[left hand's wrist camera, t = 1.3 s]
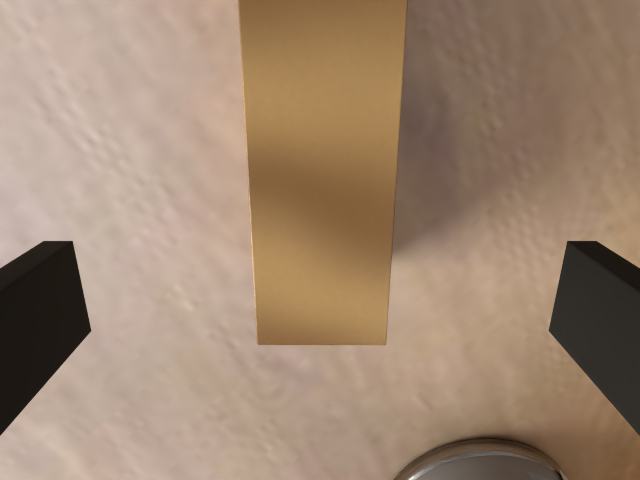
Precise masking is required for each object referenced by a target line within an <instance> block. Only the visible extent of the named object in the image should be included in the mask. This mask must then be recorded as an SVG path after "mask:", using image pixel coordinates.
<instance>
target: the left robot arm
mask: <svg viewBox="0 0 640 480" xmlns="http://www.w3.org/2000/svg"><path fill="white" fill-rule="evenodd" d="M90 332H91V327H90V322H89V318H88V313H87V308H86V303H85V298H84V294H83V289H82V284H81V279H80V274H79V270H78V265H77V260H76V255H75V250H74V246H73V241H43V242H41V243H40V244H38V245H37V246H35V247H34V248H32V249H30V250H29V251H27V252H26V253H24V254H22V255H21V256H19V257H18V258H16V259H14V260H13V261H11V262H10V263H8V264H7V265H5V266H3V267H2V268H0V435H1V434H2V433H3V432H4V431H5V430H6V428H7V427H8V426H9V425H10V424H11V423H12V422H13V420H14V419H15V418H16V417H17V416H18V415H19V413H20V412H21V411H22V410H23V409H24V408H25V407H26V405H27V404H28V403H29V402H30V401H31V400H32V399H33V397H34V396H35V395H36V394H37V393H38V392H39V390H40V389H41V388H42V387H43V386H44V385H45V384H46V382H47V381H48V380H49V379H50V378H51V377H52V375H53V374H54V373H55V372H56V371H57V370H58V369H59V367H60V366H61V365H62V364H63V363H64V362H65V360H66V359H67V358H68V357H69V356H70V355H71V354H72V352H73V351H74V350H75V349H76V348H77V347H78V346H79V344H80V343H81V342H82V341H83V340H84V339H85V337H86V336H87V335H88V334H89V333H90ZM549 332H550V333H551V334H552V335H553V336H554V337H555V339H556V340H557V341H558V342H559V343H560V344H561V346H562V347H563V348H564V349H565V350H566V351H567V352H568V354H569V355H570V356H571V357H572V358H573V359H574V360H575V362H576V363H577V364H578V365H579V366H580V367H581V369H582V370H583V371H584V372H585V373H586V374H587V375H588V377H589V378H590V379H591V380H592V381H593V382H594V384H595V385H596V386H597V387H598V388H599V389H600V390H601V392H602V393H603V394H604V395H605V396H606V397H607V399H608V400H609V401H610V402H611V403H612V404H613V405H614V407H615V408H616V409H617V410H618V411H619V412H620V413H621V415H622V416H623V417H624V418H625V419H626V420H627V422H628V423H629V424H630V425H631V426H632V427H633V428H634V430H635V431H636V432H637V433H638V434H639V435H640V268H638V267H637V266H635V265H633V264H632V263H630V262H629V261H627V260H626V259H624V258H622V257H621V256H619V255H618V254H616V253H614V252H613V251H611V250H610V249H608V248H606V247H605V246H603V245H602V244H600V243H599V242H597V241H567V246H566V250H565V255H564V260H563V265H562V270H561V274H560V279H559V284H558V289H557V294H556V298H555V303H554V308H553V313H552V318H551V322H550V327H549ZM394 480H568V479H567V477H566V476H565V474H564V472H563V471H562V470H561V468H560V467H559V466H558V465H557V464H556V463H555V462H554V461H553V460H552V459H551V458H549V457H548V456H547V455H545V454H544V453H542V452H540V451H538V450H536V449H534V448H532V447H530V446H527V445H524V444H521V443H517V442H513V441H508V440H500V439H474V440H466V441H461V442H456V443H452V444H449V445H445V446H442V447H440V448H437V449H435V450H432V451H430V452H428V453H426V454H424V455H422V456H421V457H419V458H417V459H416V460H414V461H413V462H411V463H410V464H409V465H408V466H406V467H405V468H404V469H403V470H402V471H401V472H400V473H399V474H398V475H397V476H396V477H395V478H394Z"/></svg>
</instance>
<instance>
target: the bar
mask: <svg viewBox="0 0 640 480" xmlns="http://www.w3.org/2000/svg"><path fill="white" fill-rule="evenodd" d="M407 5H408V0H238V6H239V24H240V42H241V60H242V79H243V97H244V115H245V133H246V151H247V170H248V188H249V206H250V224H251V242H252V260H253V279H254V297H255V315H256V333H257V345H386V337H387V321H388V305H389V289H390V274H391V258H392V242H393V226H394V210H395V195H396V179H397V163H398V147H399V131H400V116H401V100H402V84H403V68H404V53H405V37H406V21H407Z"/></svg>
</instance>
